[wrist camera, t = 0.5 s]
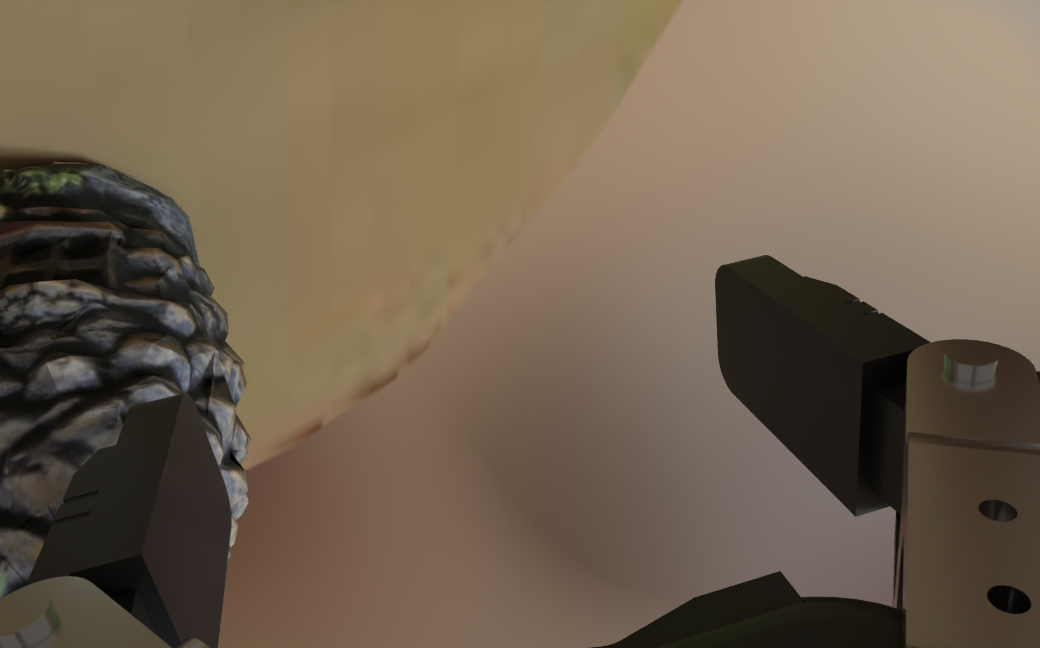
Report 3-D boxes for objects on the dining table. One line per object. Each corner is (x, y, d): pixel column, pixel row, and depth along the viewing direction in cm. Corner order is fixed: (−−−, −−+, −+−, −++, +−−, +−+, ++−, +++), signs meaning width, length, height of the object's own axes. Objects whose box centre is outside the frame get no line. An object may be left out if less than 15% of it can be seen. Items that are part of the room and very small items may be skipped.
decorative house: (-72, 62, 33) (-307, 592, 15) (285, 190, 41) (408, 619, 23) (-174, 431, 41) (-405, 1059, 23) (142, 472, 49) (153, 949, 32)
